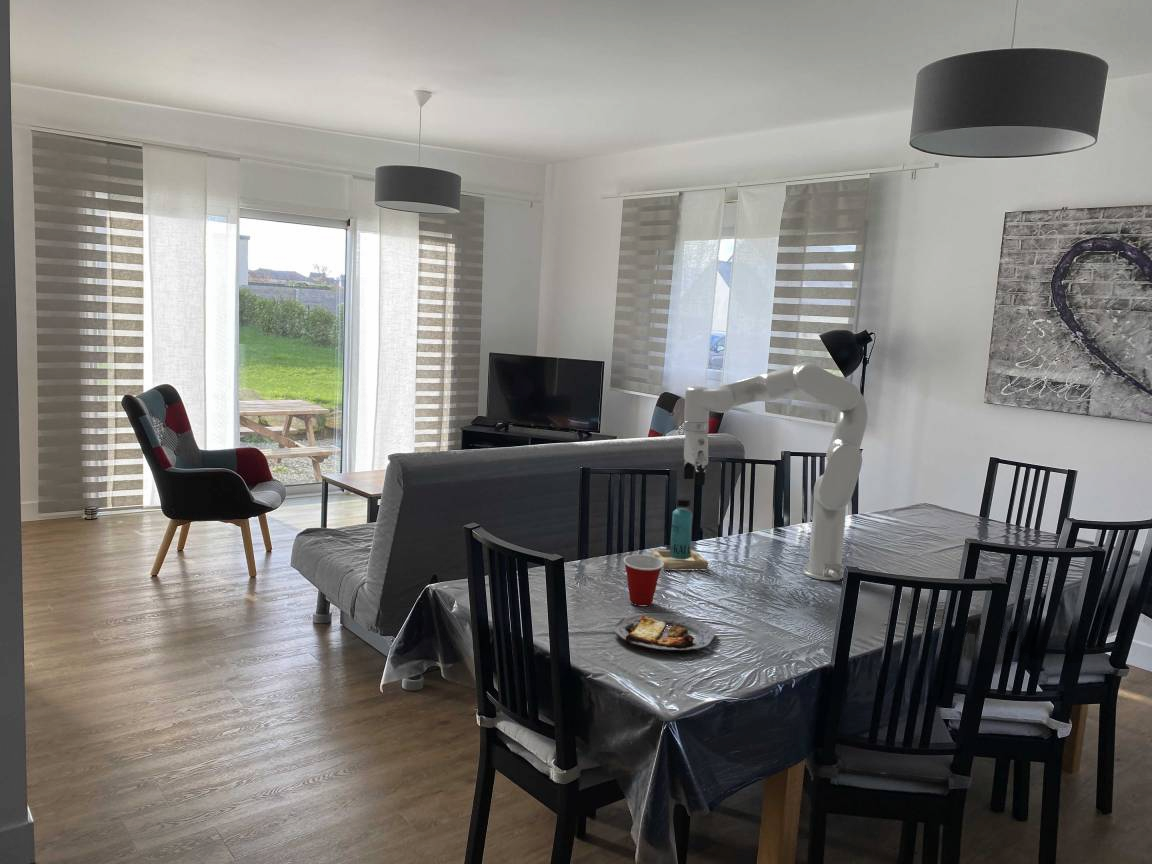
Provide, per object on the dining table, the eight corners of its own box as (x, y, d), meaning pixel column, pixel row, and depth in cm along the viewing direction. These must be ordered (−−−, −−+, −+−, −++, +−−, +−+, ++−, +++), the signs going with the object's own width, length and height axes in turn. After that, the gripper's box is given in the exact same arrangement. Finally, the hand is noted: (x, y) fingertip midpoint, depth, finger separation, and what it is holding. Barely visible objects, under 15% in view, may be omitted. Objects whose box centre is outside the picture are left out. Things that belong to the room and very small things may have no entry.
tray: (707, 570, 273) (708, 562, 272) (663, 570, 270) (664, 562, 270) (692, 557, 286) (693, 549, 286) (651, 557, 284) (651, 550, 283)
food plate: (699, 664, 199) (700, 649, 198) (601, 647, 207) (602, 632, 207) (723, 631, 222) (724, 618, 221) (634, 617, 230) (634, 604, 230)
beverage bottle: (676, 557, 283) (679, 495, 280) (694, 561, 278) (698, 498, 276) (665, 561, 278) (668, 498, 275) (683, 565, 273) (686, 501, 271)
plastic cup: (628, 611, 232) (630, 566, 231) (615, 597, 243) (618, 555, 241) (667, 609, 235) (670, 565, 234) (653, 596, 246) (655, 553, 244)
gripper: (717, 430, 266) (715, 487, 269) (698, 423, 283) (695, 476, 285) (694, 430, 265) (691, 487, 267) (675, 423, 282) (673, 476, 284)
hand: (693, 481), depth 276 cm, fingers open, 9 cm apart
